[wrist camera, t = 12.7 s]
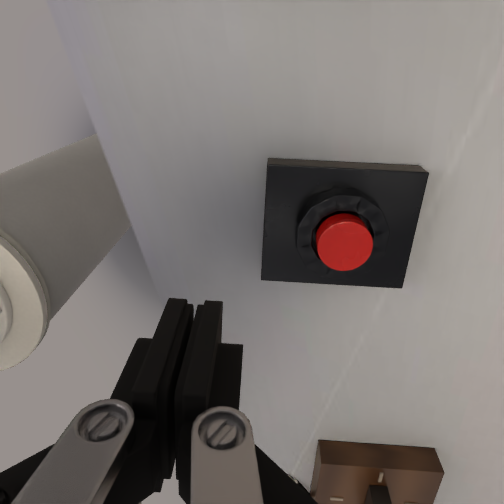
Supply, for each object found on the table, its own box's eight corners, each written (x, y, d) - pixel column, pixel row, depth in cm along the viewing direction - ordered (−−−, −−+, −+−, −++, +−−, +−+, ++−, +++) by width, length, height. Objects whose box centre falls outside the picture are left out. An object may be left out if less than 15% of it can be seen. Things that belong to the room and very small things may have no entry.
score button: (312, 259, 32) (314, 269, 30) (318, 211, 30) (320, 220, 28) (363, 262, 32) (368, 272, 30) (372, 214, 30) (377, 223, 28)
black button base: (261, 268, 36) (260, 291, 33) (267, 157, 32) (266, 170, 28) (395, 276, 36) (408, 300, 32) (419, 165, 32) (438, 179, 28)
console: (308, 501, 50) (310, 527, 48) (318, 439, 46) (321, 465, 43) (413, 508, 50) (422, 536, 47) (434, 447, 45) (445, 474, 42)
